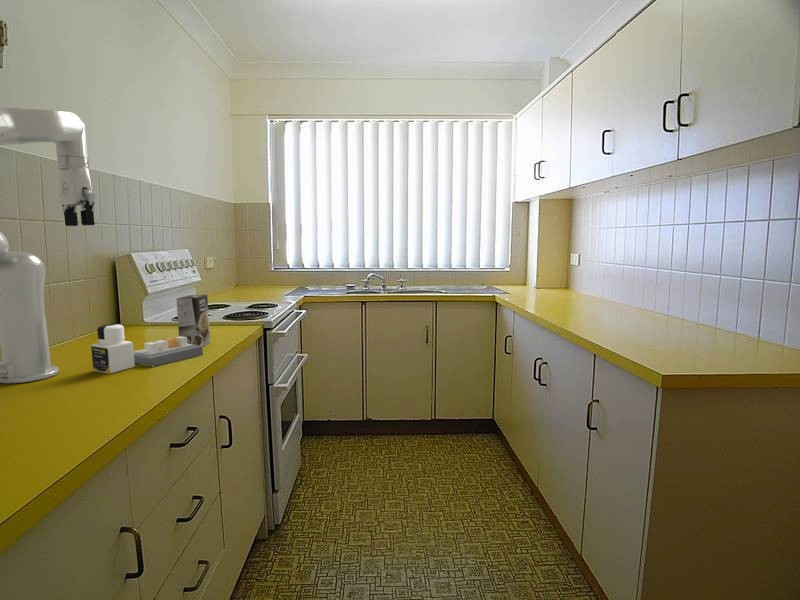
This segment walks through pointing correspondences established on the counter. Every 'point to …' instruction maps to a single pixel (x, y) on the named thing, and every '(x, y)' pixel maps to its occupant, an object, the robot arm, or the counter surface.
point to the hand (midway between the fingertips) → (79, 225)
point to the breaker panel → (166, 351)
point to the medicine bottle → (112, 350)
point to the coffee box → (194, 319)
